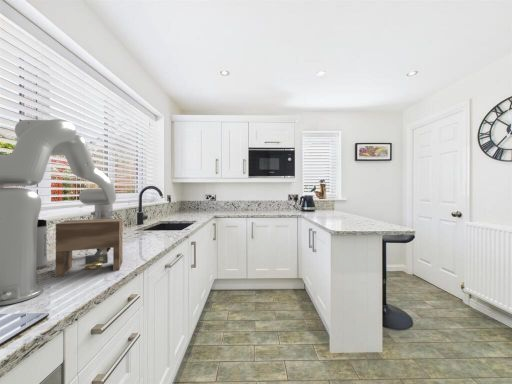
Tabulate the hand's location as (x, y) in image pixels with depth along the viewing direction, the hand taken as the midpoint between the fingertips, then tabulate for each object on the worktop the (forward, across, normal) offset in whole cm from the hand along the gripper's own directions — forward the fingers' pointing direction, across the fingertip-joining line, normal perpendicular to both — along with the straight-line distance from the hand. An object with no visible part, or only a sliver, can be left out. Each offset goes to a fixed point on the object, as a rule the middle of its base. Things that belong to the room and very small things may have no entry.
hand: (103, 251), depth 120 cm
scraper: (+1, 0, -8) cm, 8 cm away
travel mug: (+1, -21, -15) cm, 26 cm away
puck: (+2, 0, -23) cm, 23 cm away
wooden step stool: (+1, 0, -25) cm, 25 cm away
